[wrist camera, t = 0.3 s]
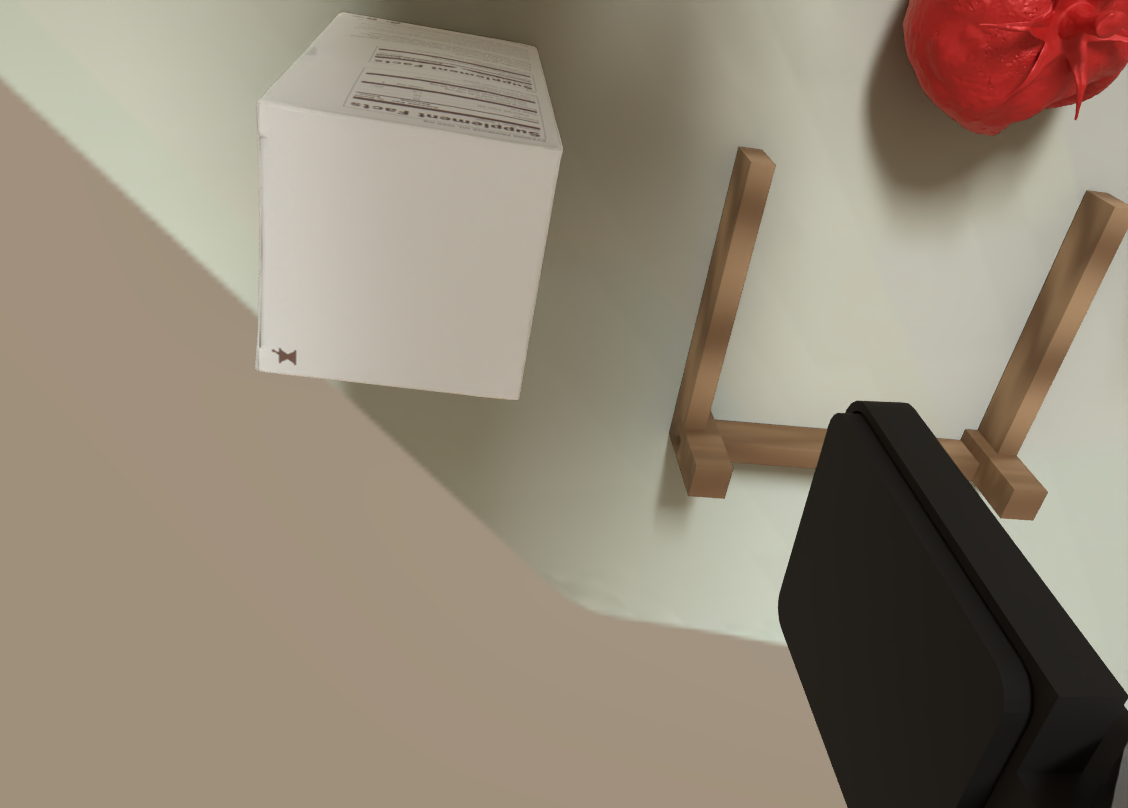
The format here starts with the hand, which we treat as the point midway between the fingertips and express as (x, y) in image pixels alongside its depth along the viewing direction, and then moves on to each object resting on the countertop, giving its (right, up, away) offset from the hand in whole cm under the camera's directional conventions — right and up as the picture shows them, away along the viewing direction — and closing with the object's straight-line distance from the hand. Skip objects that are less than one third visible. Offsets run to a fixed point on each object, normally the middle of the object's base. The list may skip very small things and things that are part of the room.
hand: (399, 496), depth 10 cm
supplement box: (-5, +14, +33) cm, 37 cm away
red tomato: (+21, +20, +32) cm, 43 cm away
